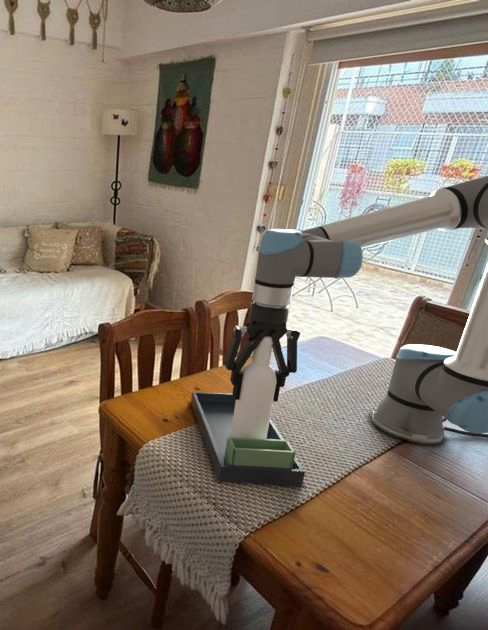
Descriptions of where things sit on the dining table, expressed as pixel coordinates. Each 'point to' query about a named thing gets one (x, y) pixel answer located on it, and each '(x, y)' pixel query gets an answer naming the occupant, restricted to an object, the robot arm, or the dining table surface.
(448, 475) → the dining table surface
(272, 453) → the green open box
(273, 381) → the bottle
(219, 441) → the tray
